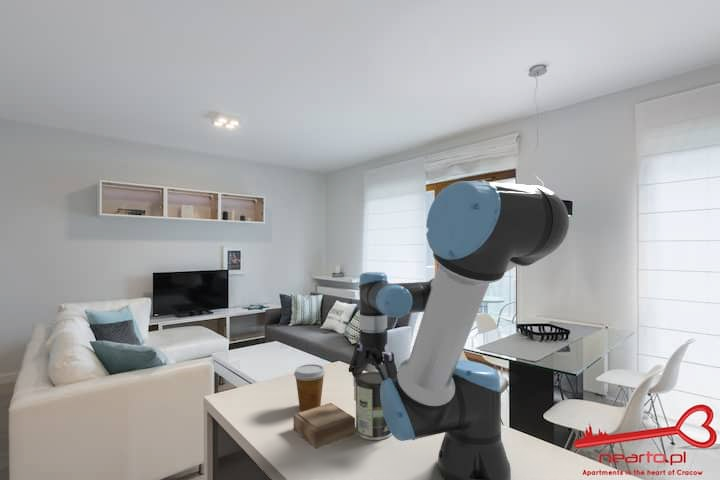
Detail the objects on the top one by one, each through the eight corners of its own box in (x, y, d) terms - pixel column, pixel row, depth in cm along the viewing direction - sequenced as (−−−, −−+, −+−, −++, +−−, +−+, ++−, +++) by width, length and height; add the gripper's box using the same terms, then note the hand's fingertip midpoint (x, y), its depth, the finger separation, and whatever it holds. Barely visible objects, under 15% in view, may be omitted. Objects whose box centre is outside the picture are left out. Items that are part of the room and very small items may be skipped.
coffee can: (395, 423, 101) (395, 372, 101) (391, 442, 91) (390, 386, 91) (359, 419, 103) (359, 370, 103) (351, 438, 93) (351, 383, 93)
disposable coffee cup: (328, 401, 116) (327, 364, 116) (322, 415, 106) (321, 374, 106) (299, 400, 116) (298, 363, 117) (290, 414, 107) (290, 373, 107)
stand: (355, 433, 96) (354, 416, 96) (315, 448, 88) (315, 430, 89) (331, 416, 105) (330, 401, 105) (293, 429, 98) (293, 412, 98)
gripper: (416, 336, 90) (416, 422, 90) (357, 319, 110) (357, 389, 110) (394, 341, 85) (394, 431, 85) (336, 323, 105) (336, 396, 105)
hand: (373, 408), depth 98 cm, fingers open, 13 cm apart
